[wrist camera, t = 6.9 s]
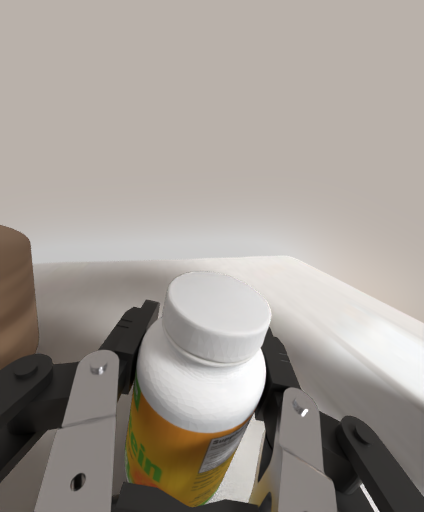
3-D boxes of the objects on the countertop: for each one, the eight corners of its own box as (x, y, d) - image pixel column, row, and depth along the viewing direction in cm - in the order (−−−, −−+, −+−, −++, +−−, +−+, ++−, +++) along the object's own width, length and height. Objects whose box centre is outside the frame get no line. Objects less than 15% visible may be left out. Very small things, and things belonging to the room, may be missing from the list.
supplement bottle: (111, 424, 11) (124, 268, 8) (192, 381, 14) (226, 260, 11) (146, 571, 7) (203, 391, 4) (245, 466, 11) (320, 322, 7)
